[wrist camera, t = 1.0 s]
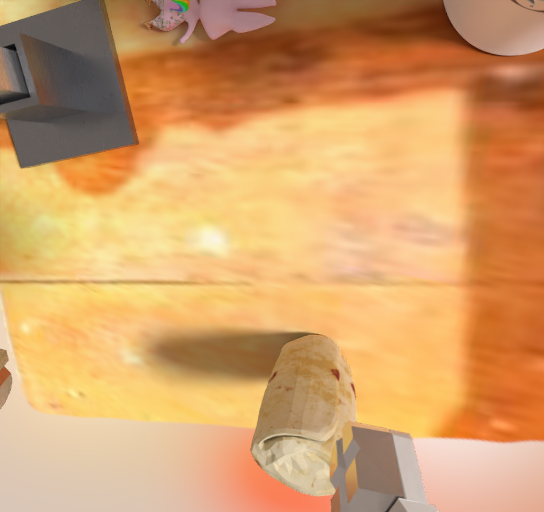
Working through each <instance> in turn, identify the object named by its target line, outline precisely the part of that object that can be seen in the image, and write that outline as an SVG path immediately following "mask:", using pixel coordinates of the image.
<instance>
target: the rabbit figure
mask: <svg viewBox="0 0 544 512" xmlns="http://www.w3.org/2000/svg"><path fill="white" fill-rule="evenodd" d="M146 1H147V2H148V4H149V6H150V2H152V1H153V2H154V3H155V4H156V5H157V6H158V7H159V9H160V10H161V13H160V14H159V15H158V16H157V17H156V18H154V19H153V20H152V21H149V22H143V21H142V23H144V24H145V25H146V26H147V28H148V29H149V30H150V27H151V28H152V26H151V24H152V25H154V26H155V27H157V28H159V29H161V30H164V31H170V30H173V29H174V28H176V27H177V26H178V25H179V24H181V23H182V22H184V21H186V22H188V29H187V32H186V33H185V35H184V36H183V37H181V38H180V43H181V44H183V43H184V42H185V41H186V40H187V39H188V38H189V37H190V35H191V34H192V32H193V30H194V28H195V26H196V24H197V22H198V20H199V19H201V22H202V25H203V27H204V29H205V31H206V33H207V35H208V36H209V37H210V38H211V39H213V40H215V39H217V38H218V37H220V36H222V35H224V34H225V33H227V32H228V31H230V30H233V31H235V32H237V33H243V32H248V31H252V30H256V29H259V28H262V27H264V26H267V25H269V24H271V23H273V22H274V21H275V18H274V17H271V16H268V15H265V14H262V13H258V12H244V11H240V12H238V9H251V8H263V7H268V6H275V5H276V1H275V0H200V3H199V4H198V1H197V0H152V1H151V0H146Z"/></svg>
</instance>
